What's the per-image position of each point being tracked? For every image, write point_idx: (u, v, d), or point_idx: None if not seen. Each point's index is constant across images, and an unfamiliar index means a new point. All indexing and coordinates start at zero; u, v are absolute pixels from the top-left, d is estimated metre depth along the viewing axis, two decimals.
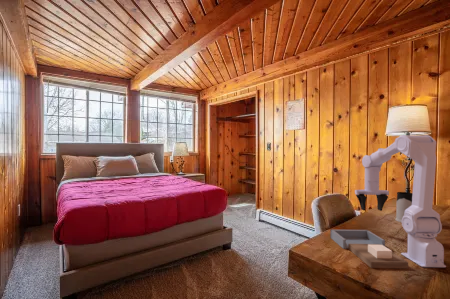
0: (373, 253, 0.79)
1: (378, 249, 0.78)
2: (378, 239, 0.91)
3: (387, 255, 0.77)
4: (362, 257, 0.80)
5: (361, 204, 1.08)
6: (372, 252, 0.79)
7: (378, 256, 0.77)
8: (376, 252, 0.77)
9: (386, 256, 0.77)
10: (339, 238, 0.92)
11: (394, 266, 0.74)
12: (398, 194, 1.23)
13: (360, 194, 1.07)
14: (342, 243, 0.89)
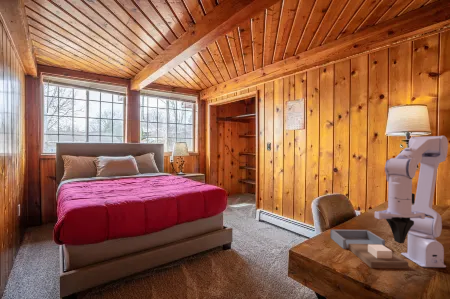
0: (373, 253, 0.79)
1: (378, 249, 0.78)
2: (378, 239, 0.91)
3: (387, 255, 0.77)
4: (362, 257, 0.80)
5: (395, 233, 0.70)
6: (372, 252, 0.79)
7: (378, 256, 0.77)
8: (376, 252, 0.77)
9: (386, 256, 0.77)
10: (339, 238, 0.92)
11: (394, 266, 0.74)
12: None
13: (384, 218, 0.69)
14: (342, 243, 0.89)
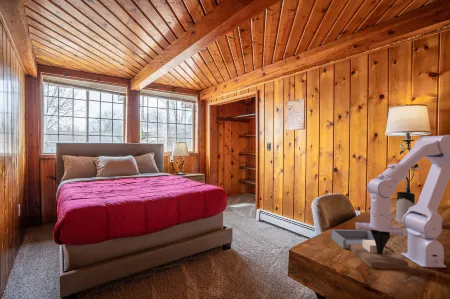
0: (367, 248, 0.83)
1: (371, 244, 0.82)
2: None
3: None
4: (362, 257, 0.80)
5: None
6: (366, 247, 0.84)
7: (371, 250, 0.81)
8: (369, 246, 0.82)
9: None
10: (339, 238, 0.92)
11: (394, 266, 0.74)
12: (398, 194, 1.23)
13: None
14: (342, 243, 0.89)
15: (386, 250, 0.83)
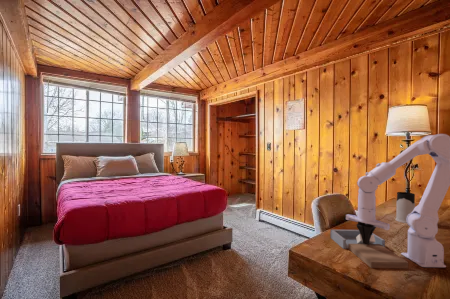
0: (359, 239, 0.91)
1: None
2: (378, 239, 0.91)
3: (370, 238, 0.88)
4: (362, 257, 0.80)
5: None
6: (358, 239, 0.91)
7: None
8: (359, 235, 0.90)
9: None
10: (339, 238, 0.92)
11: (394, 266, 0.74)
12: (398, 194, 1.23)
13: None
14: (342, 243, 0.89)
15: (386, 250, 0.83)
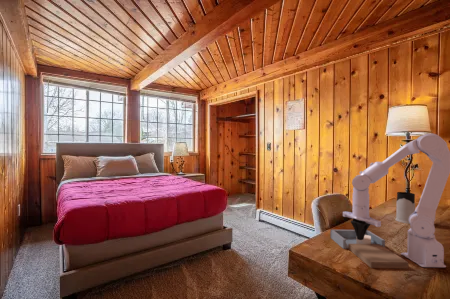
0: None
1: None
2: (378, 239, 0.91)
3: (366, 243, 0.91)
4: (362, 257, 0.80)
5: None
6: None
7: (357, 242, 0.92)
8: (356, 238, 0.93)
9: (365, 243, 0.91)
10: (339, 238, 0.92)
11: (394, 266, 0.74)
12: (398, 194, 1.23)
13: None
14: (342, 243, 0.89)
15: (386, 250, 0.83)
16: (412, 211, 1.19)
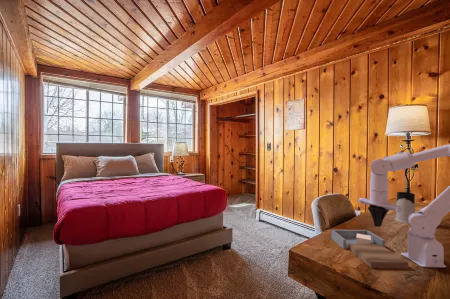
0: None
1: (359, 237, 0.93)
2: (378, 239, 0.91)
3: (366, 243, 0.91)
4: (362, 257, 0.80)
5: None
6: None
7: (357, 242, 0.92)
8: (356, 238, 0.93)
9: (365, 243, 0.91)
10: (339, 238, 0.92)
11: (394, 266, 0.74)
12: (398, 194, 1.23)
13: None
14: (342, 243, 0.89)
15: (386, 250, 0.83)
16: (412, 211, 1.19)
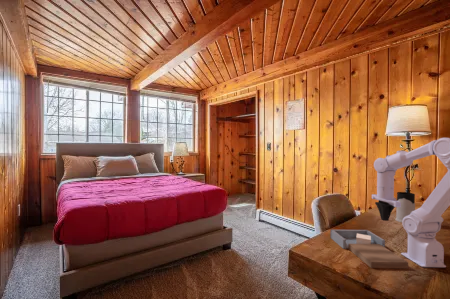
0: None
1: (359, 237, 0.93)
2: (378, 239, 0.91)
3: (366, 243, 0.91)
4: (362, 257, 0.80)
5: None
6: None
7: (357, 242, 0.92)
8: (356, 238, 0.93)
9: (365, 243, 0.91)
10: (339, 238, 0.92)
11: (394, 266, 0.74)
12: (398, 194, 1.23)
13: None
14: (342, 243, 0.89)
15: (386, 250, 0.83)
16: None
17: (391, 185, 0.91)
